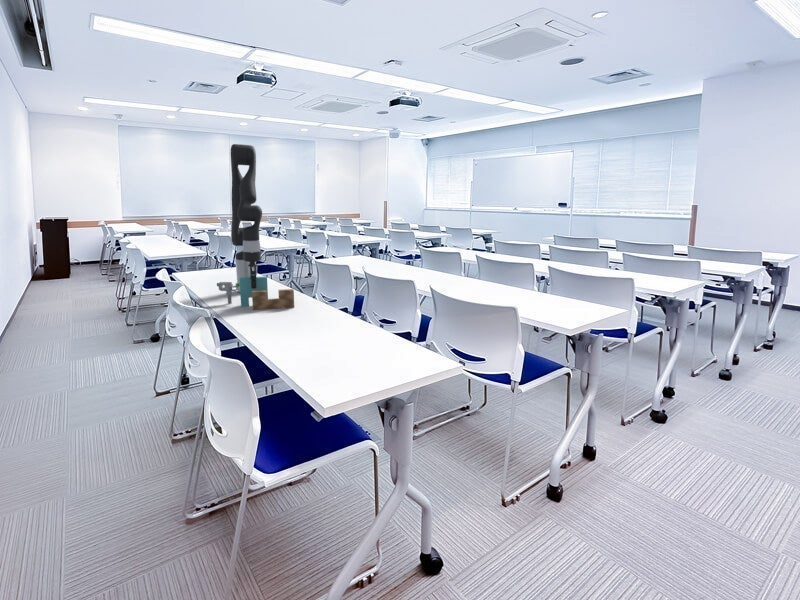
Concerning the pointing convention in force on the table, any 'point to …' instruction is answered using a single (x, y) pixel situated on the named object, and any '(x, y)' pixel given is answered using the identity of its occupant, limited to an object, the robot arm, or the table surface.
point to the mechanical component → (228, 288)
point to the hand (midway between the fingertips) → (253, 286)
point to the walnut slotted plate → (273, 300)
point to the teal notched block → (247, 290)
